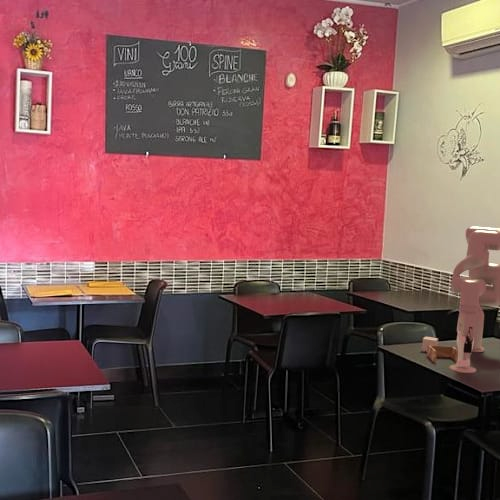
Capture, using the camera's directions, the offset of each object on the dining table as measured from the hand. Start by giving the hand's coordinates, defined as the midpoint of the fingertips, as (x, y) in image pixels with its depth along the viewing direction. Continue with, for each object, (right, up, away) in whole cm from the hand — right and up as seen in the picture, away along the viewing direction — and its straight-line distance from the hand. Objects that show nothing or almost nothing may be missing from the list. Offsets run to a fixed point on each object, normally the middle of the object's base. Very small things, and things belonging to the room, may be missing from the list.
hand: (464, 350), depth 291 cm
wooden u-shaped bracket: (-5, -7, +16) cm, 18 cm away
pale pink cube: (-7, -5, +32) cm, 33 cm away
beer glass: (0, -7, +1) cm, 7 cm away
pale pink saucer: (-1, -8, +1) cm, 8 cm away
